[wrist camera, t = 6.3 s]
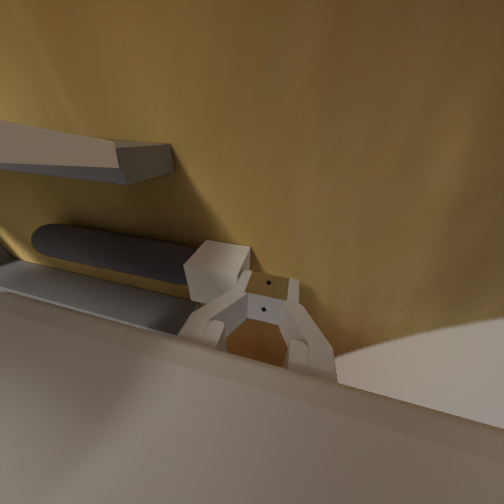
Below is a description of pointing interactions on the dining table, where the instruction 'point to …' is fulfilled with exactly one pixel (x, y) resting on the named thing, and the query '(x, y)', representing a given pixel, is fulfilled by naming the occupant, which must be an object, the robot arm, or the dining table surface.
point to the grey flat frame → (93, 289)
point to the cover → (53, 147)
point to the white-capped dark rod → (149, 258)
